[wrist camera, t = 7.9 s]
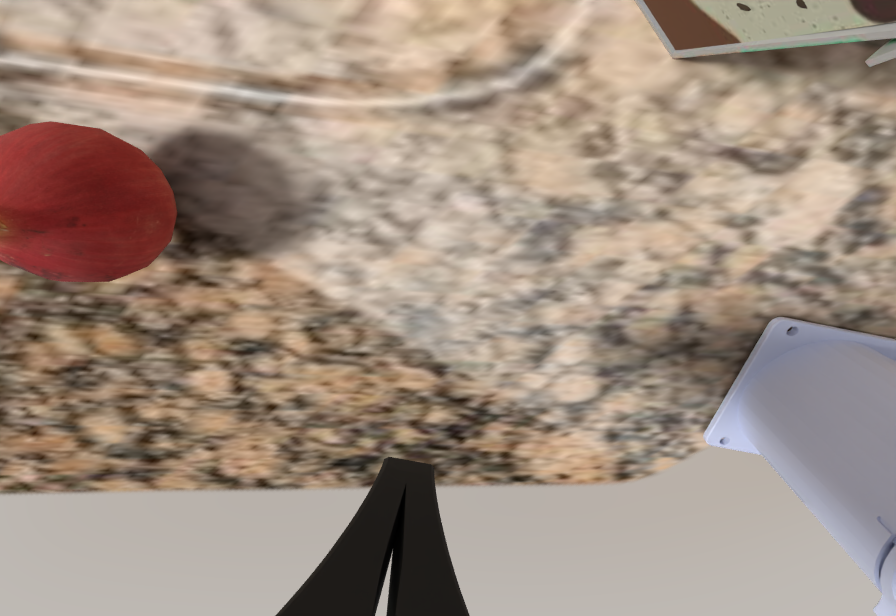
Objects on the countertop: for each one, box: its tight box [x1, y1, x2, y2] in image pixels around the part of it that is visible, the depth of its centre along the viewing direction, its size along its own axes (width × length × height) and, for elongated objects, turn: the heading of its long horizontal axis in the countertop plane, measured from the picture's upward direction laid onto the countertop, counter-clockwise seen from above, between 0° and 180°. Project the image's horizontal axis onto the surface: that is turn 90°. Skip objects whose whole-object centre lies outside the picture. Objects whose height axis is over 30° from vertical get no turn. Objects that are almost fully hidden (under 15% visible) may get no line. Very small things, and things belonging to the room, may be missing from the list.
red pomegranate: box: [0, 122, 177, 282], centre depth 15 cm, size 6×6×8 cm
